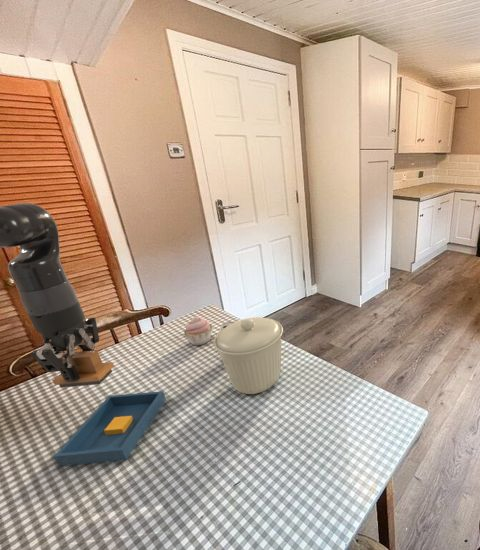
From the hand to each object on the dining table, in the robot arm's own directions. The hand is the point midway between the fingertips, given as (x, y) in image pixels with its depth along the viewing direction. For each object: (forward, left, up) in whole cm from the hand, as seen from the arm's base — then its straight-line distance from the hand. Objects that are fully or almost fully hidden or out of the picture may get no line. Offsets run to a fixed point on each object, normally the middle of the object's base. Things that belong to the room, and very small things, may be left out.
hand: (83, 371), depth 68 cm
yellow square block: (+3, 0, -17) cm, 17 cm away
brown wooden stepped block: (0, 0, -2) cm, 2 cm away
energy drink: (+23, +26, -18) cm, 39 cm away
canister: (+33, +13, -18) cm, 40 cm away
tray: (+3, -1, -18) cm, 18 cm away
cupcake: (+8, +37, -18) cm, 42 cm away
